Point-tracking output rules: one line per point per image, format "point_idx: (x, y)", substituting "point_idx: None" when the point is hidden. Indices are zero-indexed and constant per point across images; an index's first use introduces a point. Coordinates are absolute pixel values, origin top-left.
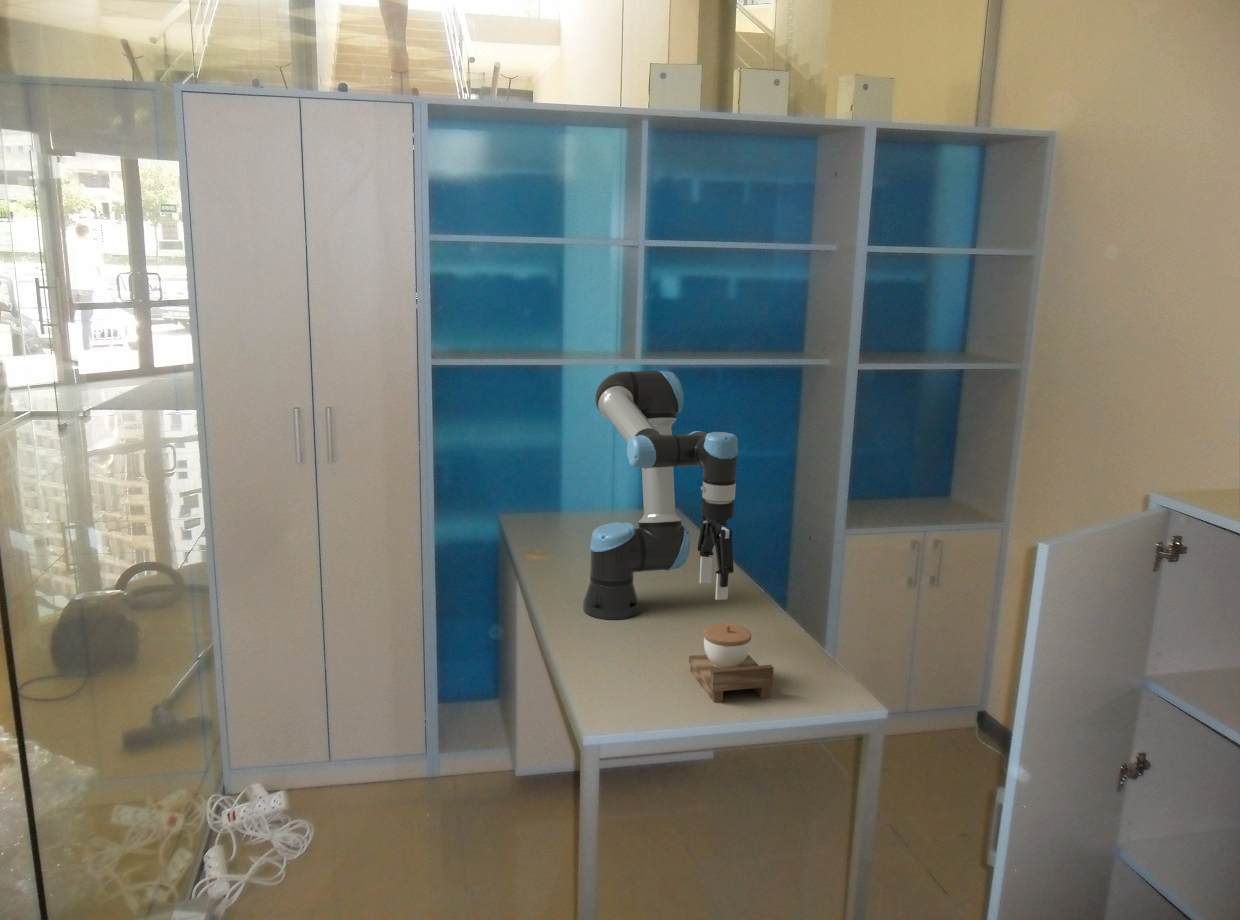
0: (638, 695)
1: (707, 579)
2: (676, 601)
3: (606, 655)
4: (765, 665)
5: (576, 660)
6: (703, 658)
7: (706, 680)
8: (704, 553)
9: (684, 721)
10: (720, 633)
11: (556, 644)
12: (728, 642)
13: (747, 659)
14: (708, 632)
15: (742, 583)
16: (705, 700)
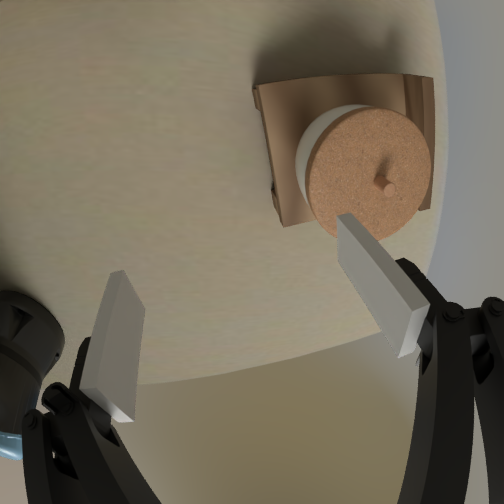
0: (351, 285)
1: (128, 297)
2: None
3: (205, 332)
4: (424, 91)
5: (228, 358)
6: (300, 197)
7: None
8: (104, 430)
9: (429, 229)
10: (387, 204)
11: (176, 378)
12: (426, 189)
13: (312, 92)
14: (373, 234)
15: None
16: None
